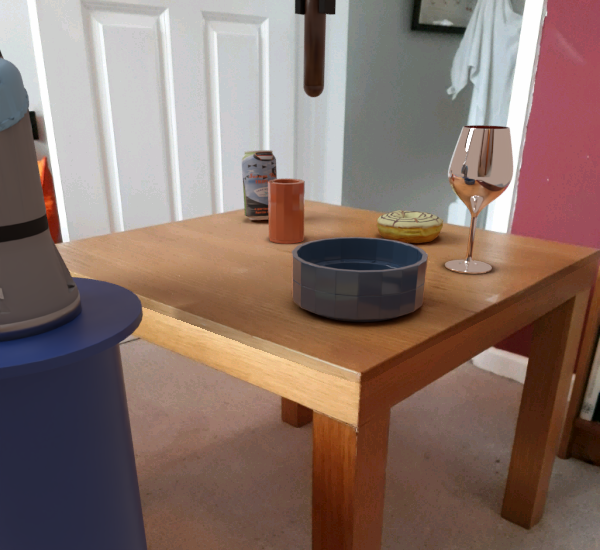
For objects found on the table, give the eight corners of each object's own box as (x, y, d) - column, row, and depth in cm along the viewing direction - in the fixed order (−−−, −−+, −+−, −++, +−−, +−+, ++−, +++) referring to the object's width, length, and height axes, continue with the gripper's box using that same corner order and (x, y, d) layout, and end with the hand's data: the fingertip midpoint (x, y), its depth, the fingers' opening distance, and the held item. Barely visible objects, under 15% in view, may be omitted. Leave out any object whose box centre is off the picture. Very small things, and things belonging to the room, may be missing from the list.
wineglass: (467, 279, 83) (487, 130, 75) (425, 264, 89) (439, 125, 81) (510, 270, 87) (534, 128, 79) (467, 256, 93) (484, 123, 85)
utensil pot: (262, 240, 101) (260, 182, 97) (281, 233, 105) (281, 177, 101) (291, 245, 99) (291, 185, 94) (310, 238, 103) (311, 180, 99)
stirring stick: (299, 97, 79) (301, -88, 71) (309, 96, 81) (312, -83, 73) (317, 97, 78) (321, -90, 69) (327, 97, 80) (332, -85, 71)
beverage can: (251, 225, 111) (249, 152, 105) (237, 217, 117) (235, 148, 111) (284, 222, 113) (284, 150, 108) (269, 214, 119) (268, 146, 114)
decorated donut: (428, 229, 109) (431, 207, 107) (450, 244, 100) (453, 220, 98) (369, 230, 108) (371, 208, 106) (385, 246, 98) (387, 221, 97)
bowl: (266, 310, 72) (265, 258, 69) (331, 277, 84) (333, 231, 81) (388, 336, 65) (393, 280, 62) (441, 297, 76) (447, 247, 74)
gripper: (406, -257, 64) (388, 14, 75) (275, -227, 71) (276, 18, 82) (375, -290, 58) (361, 9, 69) (236, -254, 65) (243, 13, 76)
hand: (315, 13), depth 75 cm, fingers closed on stirring stick, 3 cm apart
